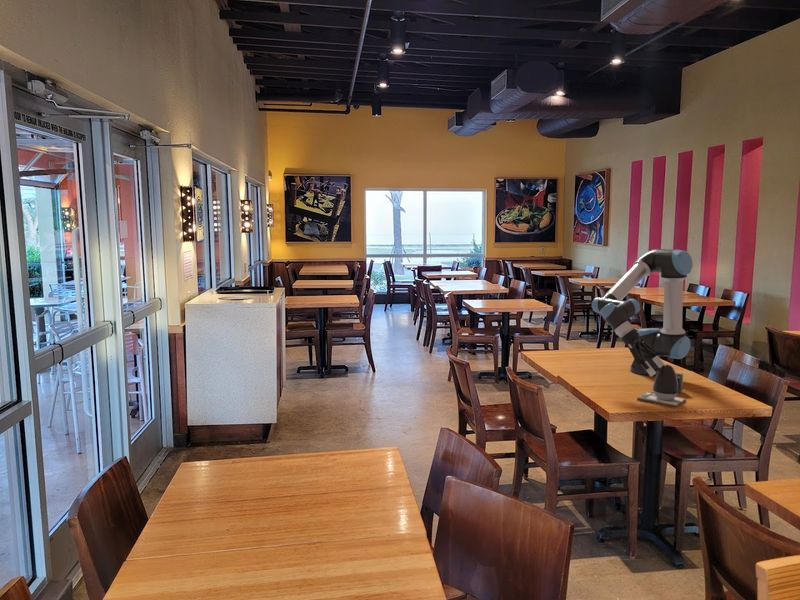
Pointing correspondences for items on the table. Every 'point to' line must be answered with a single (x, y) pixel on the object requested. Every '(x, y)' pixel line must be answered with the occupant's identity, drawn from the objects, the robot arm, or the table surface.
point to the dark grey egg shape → (665, 383)
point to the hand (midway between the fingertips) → (659, 372)
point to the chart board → (653, 399)
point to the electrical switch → (680, 381)
